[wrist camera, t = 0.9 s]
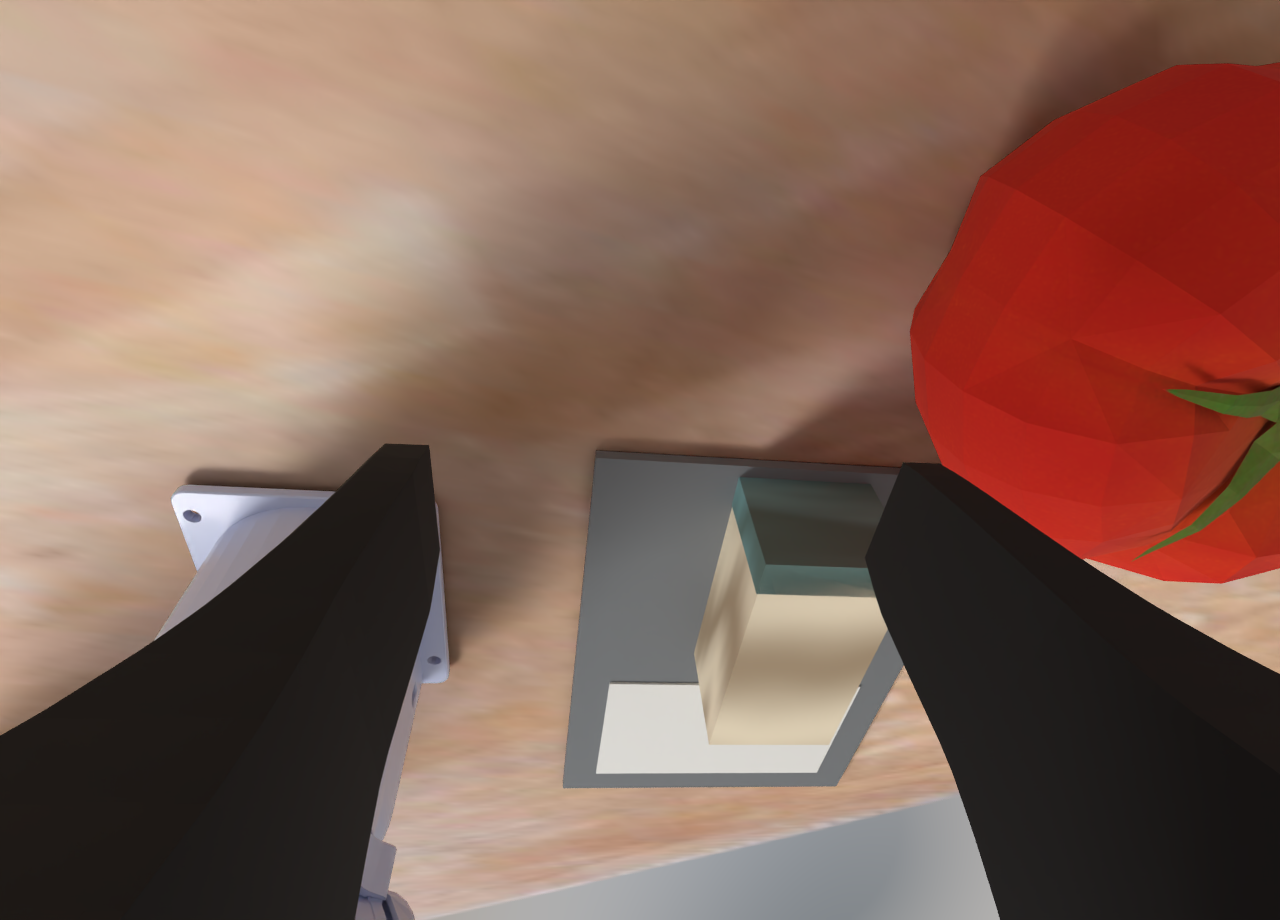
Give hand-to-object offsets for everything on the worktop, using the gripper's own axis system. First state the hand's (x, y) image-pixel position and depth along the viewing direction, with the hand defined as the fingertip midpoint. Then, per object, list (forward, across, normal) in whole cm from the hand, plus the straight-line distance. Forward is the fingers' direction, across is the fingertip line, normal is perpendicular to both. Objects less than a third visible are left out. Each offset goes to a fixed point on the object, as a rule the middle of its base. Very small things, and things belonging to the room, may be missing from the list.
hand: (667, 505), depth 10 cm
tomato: (+10, -13, -1) cm, 16 cm away
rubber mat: (+10, -6, +16) cm, 20 cm away
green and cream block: (+9, -6, +11) cm, 16 cm away
